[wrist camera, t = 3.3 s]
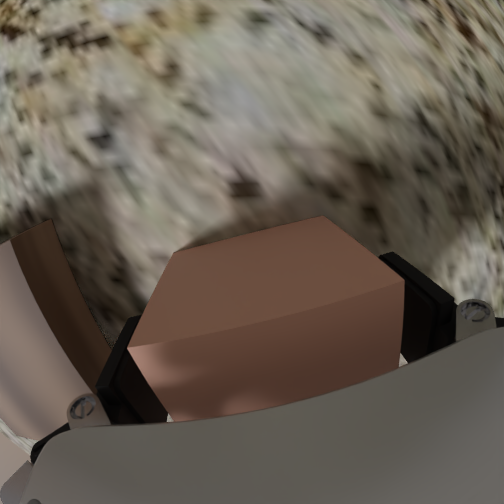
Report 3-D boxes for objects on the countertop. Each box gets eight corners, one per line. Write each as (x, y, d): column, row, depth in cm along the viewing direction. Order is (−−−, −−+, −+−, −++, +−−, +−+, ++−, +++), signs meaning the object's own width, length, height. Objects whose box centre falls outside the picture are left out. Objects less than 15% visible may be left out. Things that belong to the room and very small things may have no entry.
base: (51, 218, 10) (9, 240, 7) (153, 412, 14) (144, 452, 11) (-51, 274, 10) (-77, 293, 7) (30, 409, 14) (16, 435, 12)
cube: (322, 214, 11) (404, 280, 5) (338, 334, 13) (386, 430, 7) (173, 252, 11) (127, 347, 5) (217, 364, 13) (215, 471, 8)
